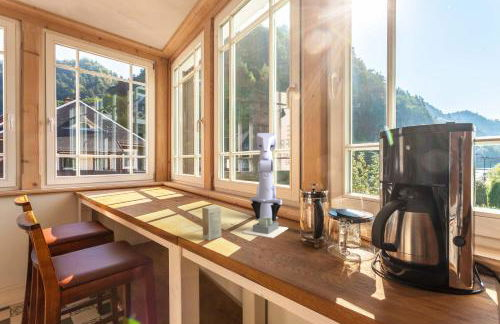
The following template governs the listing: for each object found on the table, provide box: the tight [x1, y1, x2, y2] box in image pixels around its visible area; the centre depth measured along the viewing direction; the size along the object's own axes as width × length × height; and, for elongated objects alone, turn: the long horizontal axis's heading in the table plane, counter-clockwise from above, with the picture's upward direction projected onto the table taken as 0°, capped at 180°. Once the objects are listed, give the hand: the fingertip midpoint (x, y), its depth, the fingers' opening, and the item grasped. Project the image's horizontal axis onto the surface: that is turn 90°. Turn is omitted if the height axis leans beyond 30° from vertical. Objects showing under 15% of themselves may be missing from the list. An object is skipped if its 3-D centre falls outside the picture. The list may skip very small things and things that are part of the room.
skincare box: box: [201, 204, 222, 241], centre depth 99 cm, size 6×4×12 cm
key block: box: [258, 216, 273, 226], centre depth 108 cm, size 4×6×5 cm, turn 149°
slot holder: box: [241, 221, 289, 239], centre depth 108 cm, size 16×14×3 cm
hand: (265, 219), depth 108 cm, fingers open, 7 cm apart
